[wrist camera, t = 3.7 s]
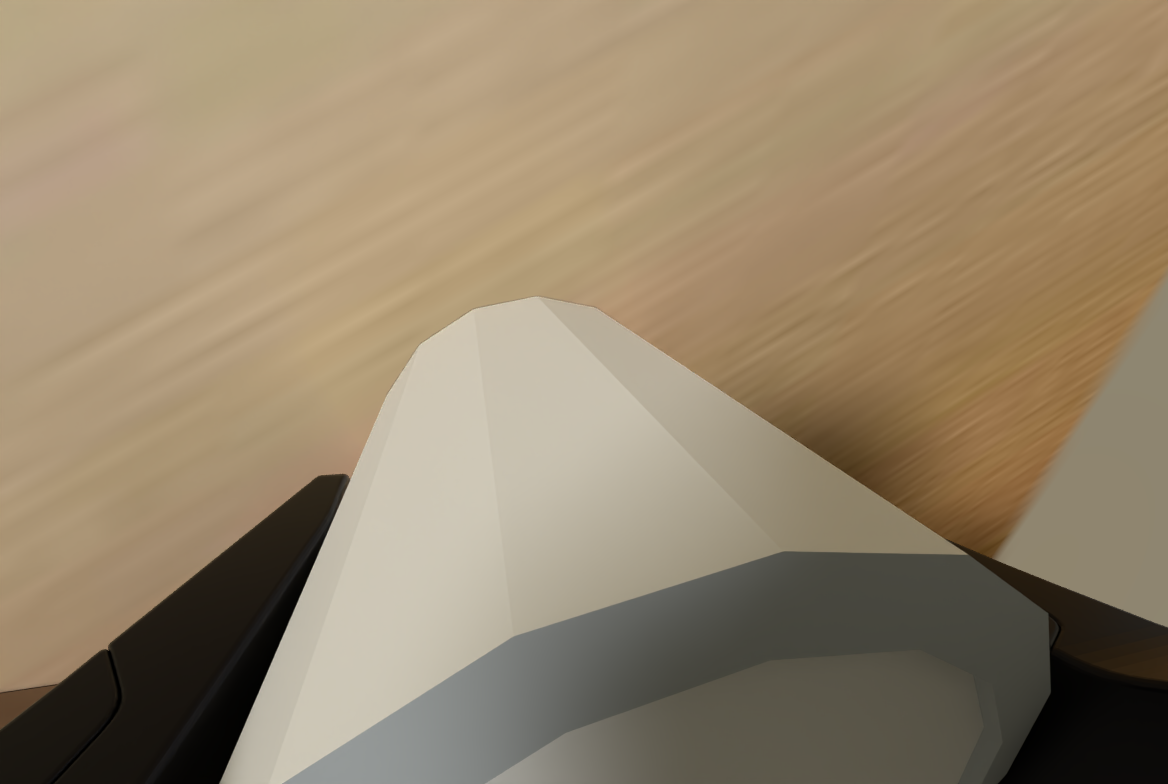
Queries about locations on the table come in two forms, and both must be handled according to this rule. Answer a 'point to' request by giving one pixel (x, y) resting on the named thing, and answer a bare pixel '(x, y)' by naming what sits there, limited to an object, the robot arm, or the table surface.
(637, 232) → the table surface
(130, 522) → the table surface
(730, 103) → the table surface
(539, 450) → the white tapered cup
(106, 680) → the robot arm
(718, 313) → the table surface
